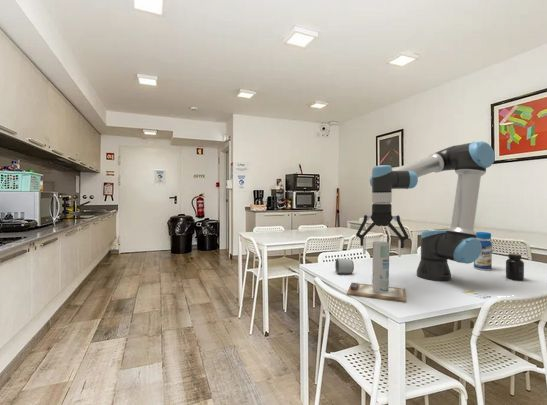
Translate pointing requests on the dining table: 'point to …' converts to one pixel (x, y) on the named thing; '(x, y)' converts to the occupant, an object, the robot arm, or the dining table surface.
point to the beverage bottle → (484, 252)
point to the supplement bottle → (515, 267)
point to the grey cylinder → (344, 266)
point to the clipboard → (368, 292)
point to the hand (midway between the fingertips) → (381, 255)
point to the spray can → (380, 266)
